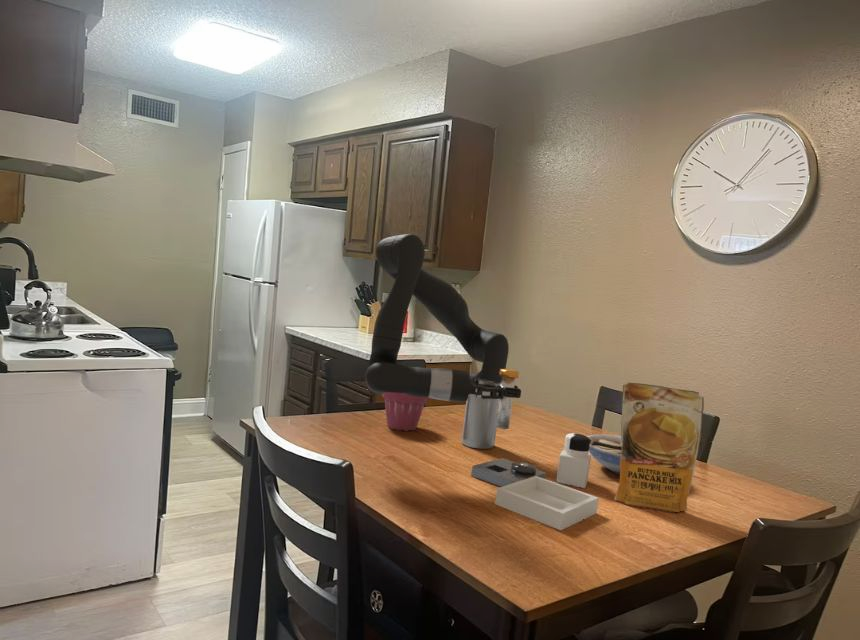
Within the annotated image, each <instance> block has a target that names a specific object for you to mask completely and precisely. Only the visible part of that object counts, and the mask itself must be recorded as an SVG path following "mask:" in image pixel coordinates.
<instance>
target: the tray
mask: <svg viewBox="0 0 860 640" xmlns="http://www.w3.org/2000/svg"><path fill="white" fill-rule="evenodd" d="M599 499H600V497H598V496H596V495H593V494H591V493H586V492H584V491H581V490H578V489H575V488H573V487H569V486H567V485H565V484H562V483H557V482H556V481H552V480H549V479H546V478H545V479H544V478H541V477H538V476H534V477H531V478H528V479H524V480H521V481H518V482H515V483H512V484H509V485H506V486H503V487H497V488H496V493H495V499H494V500H495V502H494V505H495V506H499V507H501V508H504V509H506V510H509V511H511V512H514V513H515V514H518V515H521V516H523V517H526V518H528V519H531V520H533V521H535V522H537V523H541V524H543V525H545V526H548V527H550V528H553V529H556V530H558V531H563V530H564V529H566V528H568V527H572V526H573V525H575V524H577V523H579V522H582V521H583V519H584V520H585V519H588V518H590V517H592V516H594V515H596V514H597V513H598V508H599V507H598V506H599Z"/></svg>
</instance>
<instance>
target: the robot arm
mask: <svg viewBox="0 0 860 640" xmlns="http://www.w3.org/2000/svg"><path fill="white" fill-rule="evenodd" d="M425 252H426V251H425V245H424V243H423V240H422V238H420V237H419V235H416V234H414V233H406V234H405V233H404V234H398V235H393V236H388V237H386V238H383V239H381V240H380V241H379V242H378V243H377V245H376V248H375V257H376V260H377V262H378V264H379V265H380V267H381V268H382V270H384V271H385V272H386V273H387V274H388V275H389V276H390V277H391V278H392V279H394V282H393V283H394V284H392V287H391V289H390V292H389V293H388V295H387V297H386V299H385V300H384V302H383V304H382V306H381V307H380V309H379V311H378V314H377V316H376V320H375V323H374V327H373V334H372V339H371V352H370V357H369V361H368V366H367V369H366V372H365V376H364V377H365V379H364V380H365V384H366V387H367V388H368V390H369V391H371V392H372V393H374V394H380V395H382V394H383V393H386V392H392V393H405V394H407V395H410V396H416V397H427V398H428V399H435V400H438V401H446V402H447V401H448V402H459V403H466V404H465V410H464V420H463V426H462V437H461V444H462V445H464V446H466V447H469V448H472V449H473V448H474V449H477V450H478V449H481V450H486V449H493V447H494V446H495V443H496V436H497V428H498V427H496V422H497V414H498V406H499V399H503V398H505V397H512V398H513V399H514V398H516V399H520V398H521V396H522V395H521V394H522V389H521V388H519V386H517V385H514V388H509V387H504V386H501V381H502V377H501V376H499V374H500V369H507V364H508V363H507V362H508V358H509V357H508V356H509V350H510V349H509V348H510V347H509V342H508V341H509V340H508V338H507V337H506V336H505V335H504V334H501V333H498V332H494V331H488V330H484V329H483V328H481V327H480V326H479V325H477V323H476V322H474V321H473V320H472V318H471V317H470V312H469V307H468V304H467V301H466V300H465V298H464V297H463V296H462V295H461V294H460V293H459V291H457V289H456V288H455V287H454V286H453V285H451V284H450V283H449V282H447V281H445V280H444V279H442V278H440V277H438V276H436V275H434V274H432V273H430V272H428V271H426V270H425V269H423V264H424V261H425V255H426V253H425ZM413 297H414V298H415V299H417V300H418V301H419V302H420V304H421V305H423V307H425V309H426V310H427V311H428V312H429V313H430V314H431V315H432V316H433V317H434V318H435V319H436V320H437V321H438V322H439V323H440V324H441V325H442V326H443V327H444V328H445V329H446V330H447V331H448V332H449V333H450V334H451V335H452V336H454V338H455V339H456V340H457V341H458V342H459V343H460V345H461V346H462V348H463V349H464V351H465V352H466V353H467V354H468V356H469V357H470V358H471V359H472V360H474V361H476V362H479V363H482V366H481V370H480V371H479V372H478V373H477V372H476V373H472V374H471V375H470V371H468V370H460V369H452V368H428V367H419V366H407V365H402V364H398V363H397V362H398V355H399V352H400V349H401V346H402V345H401V344H402V340H403V334H404V328H405V322H406V319H407V318H406V317H407V313H408V309H409V307H410V303H411V301H412V298H413Z"/></svg>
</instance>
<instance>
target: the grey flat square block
mask: <svg viewBox="0 0 860 640" xmlns="http://www.w3.org/2000/svg"><path fill="white" fill-rule="evenodd" d="M546 474H547V472H545V471H542V470H539V469H537V467H536V465H534V464H531V463H528V462H523V461H512V460H510V459H508V458H507V459H506V458H503V457H501V458H498V459H494V460H490V461H486V462H482V463H477V464H475V465H472V467H471V474H470V477H473V478H475V479H479V480H481V481H483V482H486V483H489V484H491V485H494V486H497V487H498V488H500V487H503V486H506V485H509V484H512V483H515V482H518V481H521V480H524V479H528V478H531V477H534V476H538V477H541V478H544V479H546V476H547V475H546Z"/></svg>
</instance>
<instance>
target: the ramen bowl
mask: <svg viewBox="0 0 860 640" xmlns="http://www.w3.org/2000/svg"><path fill="white" fill-rule="evenodd" d="M586 436H587V435H586ZM587 437H588V438H589V439H590V446H589V454H591V457H592V458H593V459H594V460H595V461H597V463H599V464H600V465H602V466H603V467H605V468H606V469H609V471H610V472H612V473H614V474H617V475H620V459H621V450H622V444H621V435H612V434H592V435H588V436H587Z"/></svg>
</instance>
